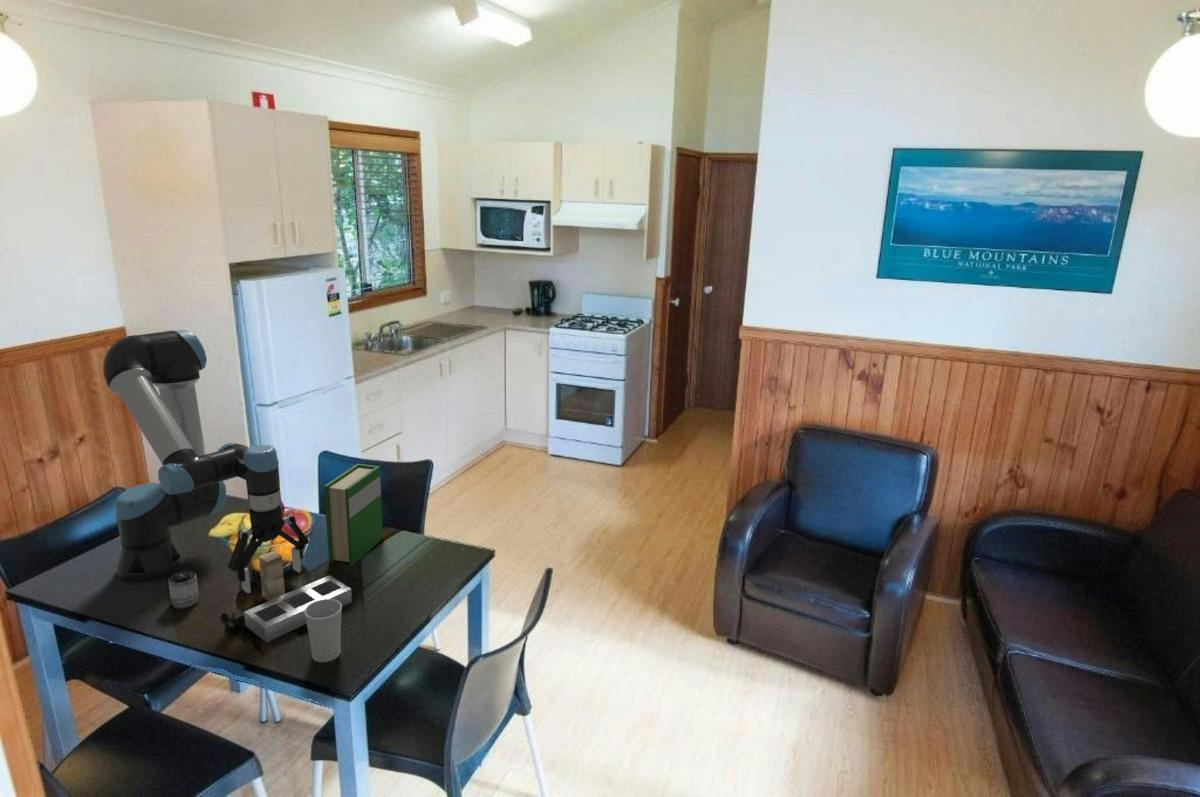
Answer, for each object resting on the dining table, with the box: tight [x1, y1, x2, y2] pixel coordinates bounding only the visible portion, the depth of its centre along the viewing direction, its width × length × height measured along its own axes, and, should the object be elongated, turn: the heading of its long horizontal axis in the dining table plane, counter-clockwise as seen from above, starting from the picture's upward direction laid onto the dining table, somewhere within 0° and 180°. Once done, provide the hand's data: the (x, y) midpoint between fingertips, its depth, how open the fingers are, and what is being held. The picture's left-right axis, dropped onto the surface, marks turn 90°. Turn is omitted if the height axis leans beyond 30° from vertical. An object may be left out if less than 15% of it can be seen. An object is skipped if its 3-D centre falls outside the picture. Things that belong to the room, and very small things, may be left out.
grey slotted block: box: [243, 575, 353, 643], centre depth 178 cm, size 10×23×4 cm, turn 142°
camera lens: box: [167, 570, 199, 609], centre depth 179 cm, size 6×6×8 cm
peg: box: [258, 550, 286, 602], centre depth 183 cm, size 4×4×12 cm
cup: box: [305, 599, 343, 663], centre depth 162 cm, size 8×8×12 cm
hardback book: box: [323, 463, 384, 567], centre depth 207 cm, size 18×7×24 cm, turn 168°
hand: (272, 580), depth 183 cm, fingers open, 13 cm apart
